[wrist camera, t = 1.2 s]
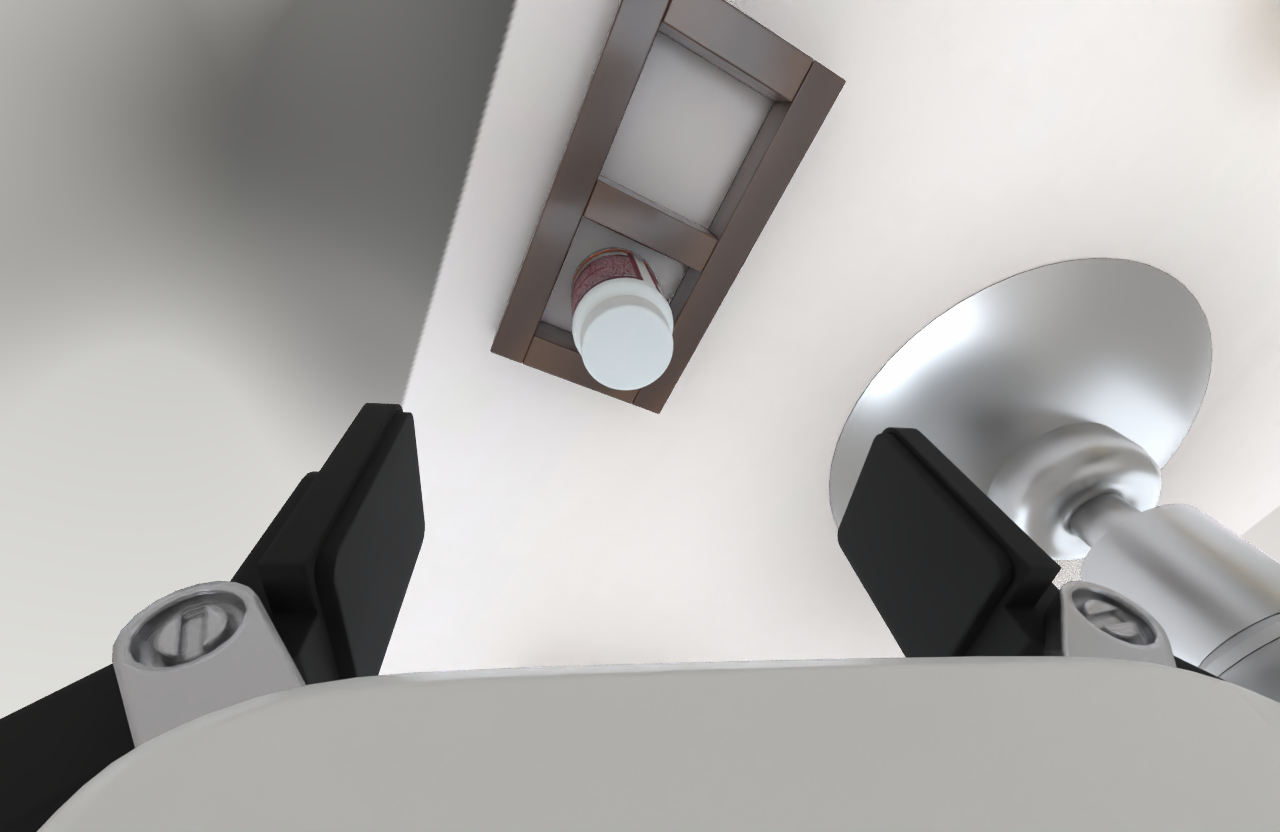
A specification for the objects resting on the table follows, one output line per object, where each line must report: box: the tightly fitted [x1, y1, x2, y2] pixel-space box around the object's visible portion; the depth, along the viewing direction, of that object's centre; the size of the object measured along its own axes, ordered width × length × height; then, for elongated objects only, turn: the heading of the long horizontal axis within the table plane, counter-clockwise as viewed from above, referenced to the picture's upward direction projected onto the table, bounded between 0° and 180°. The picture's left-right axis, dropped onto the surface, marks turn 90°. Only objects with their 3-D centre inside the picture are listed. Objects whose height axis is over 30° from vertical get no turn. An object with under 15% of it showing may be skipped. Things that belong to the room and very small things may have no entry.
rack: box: [490, 0, 846, 414], centre depth 27 cm, size 10×19×2 cm, turn 154°
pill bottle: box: [572, 248, 673, 390], centre depth 27 cm, size 5×5×8 cm
